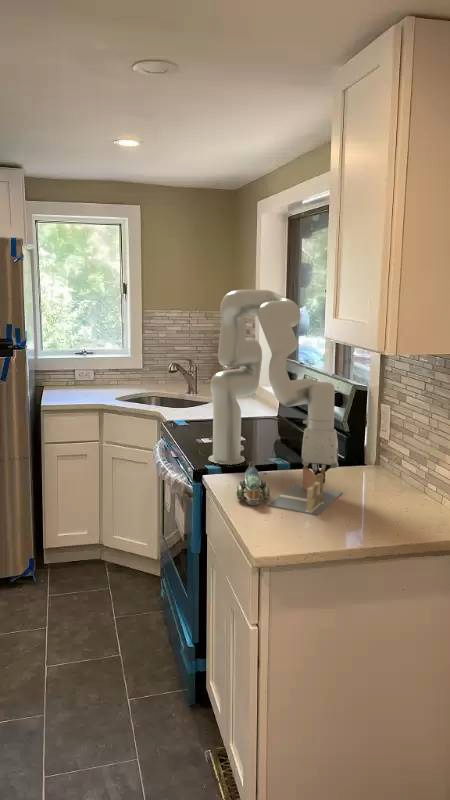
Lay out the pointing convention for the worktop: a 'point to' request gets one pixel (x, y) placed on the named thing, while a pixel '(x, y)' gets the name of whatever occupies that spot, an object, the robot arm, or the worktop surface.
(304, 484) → the fold panel
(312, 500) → the fence post
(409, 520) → the worktop surface
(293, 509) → the card
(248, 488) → the hoverbike
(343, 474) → the worktop surface
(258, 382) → the robot arm
